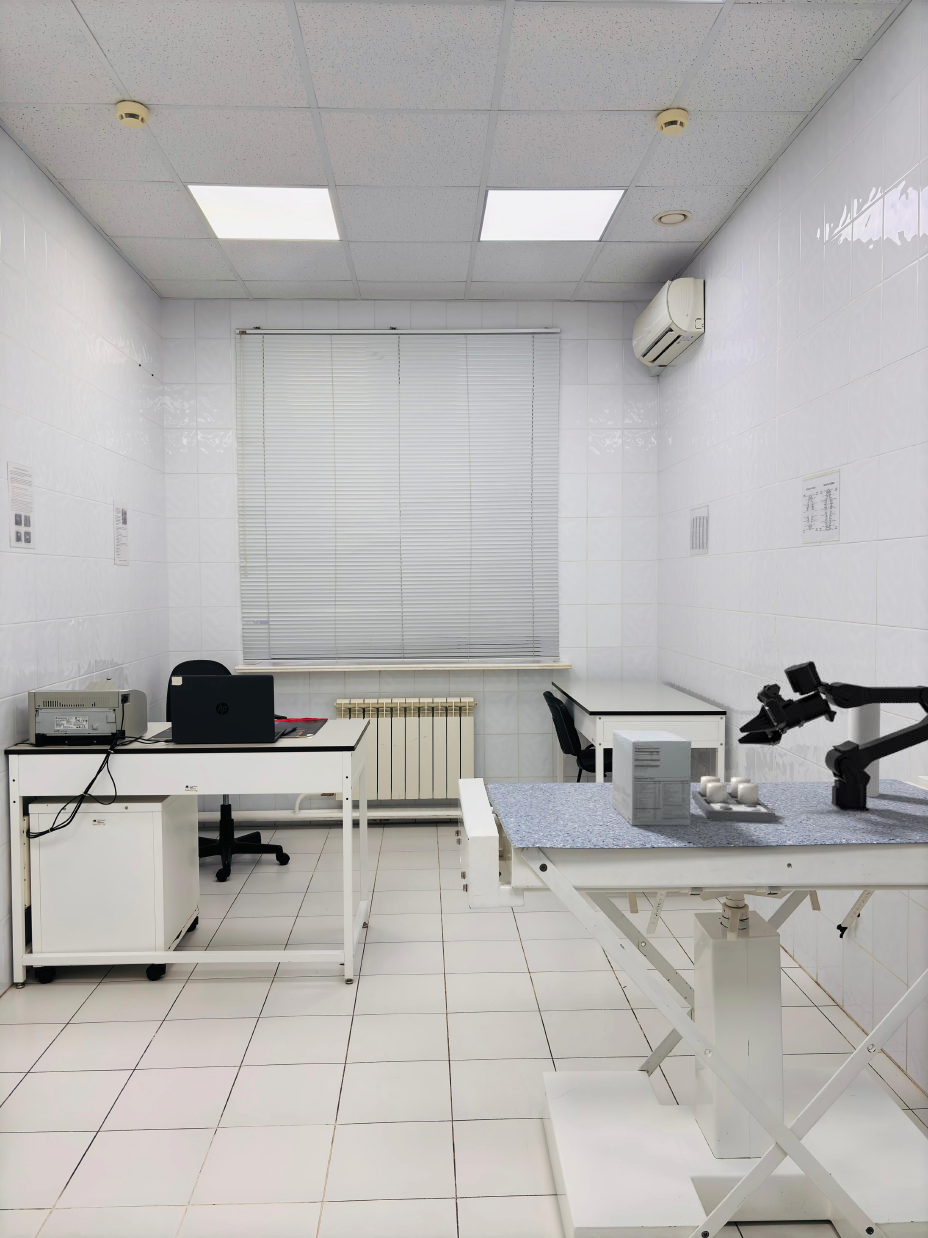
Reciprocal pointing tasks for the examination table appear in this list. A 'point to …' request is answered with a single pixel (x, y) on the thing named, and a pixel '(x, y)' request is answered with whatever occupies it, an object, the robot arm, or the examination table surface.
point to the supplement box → (651, 777)
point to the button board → (733, 809)
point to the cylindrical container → (866, 737)
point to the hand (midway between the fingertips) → (739, 736)
